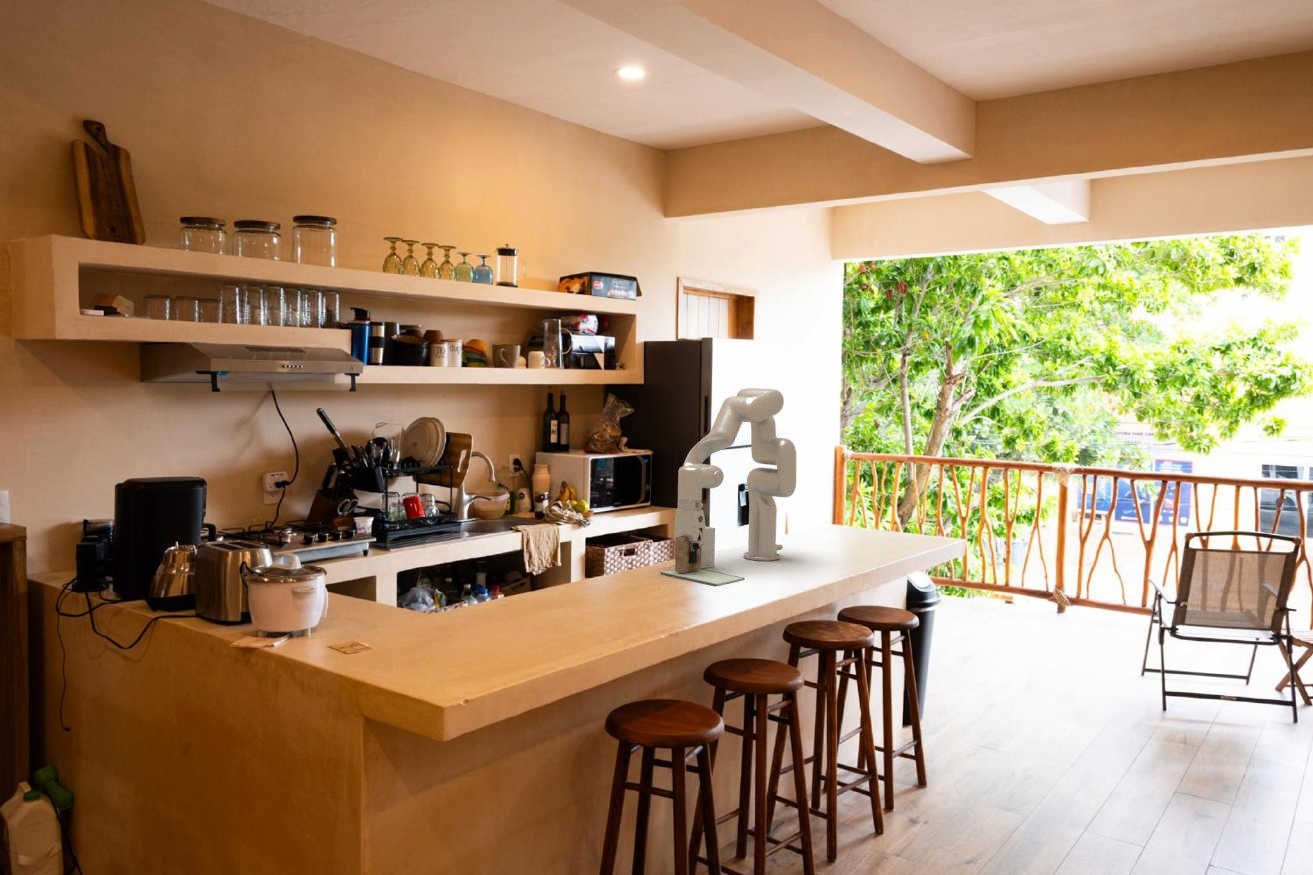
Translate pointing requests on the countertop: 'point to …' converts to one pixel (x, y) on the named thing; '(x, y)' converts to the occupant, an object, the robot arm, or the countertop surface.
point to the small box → (708, 549)
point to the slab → (685, 556)
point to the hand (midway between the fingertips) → (688, 561)
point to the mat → (704, 577)
